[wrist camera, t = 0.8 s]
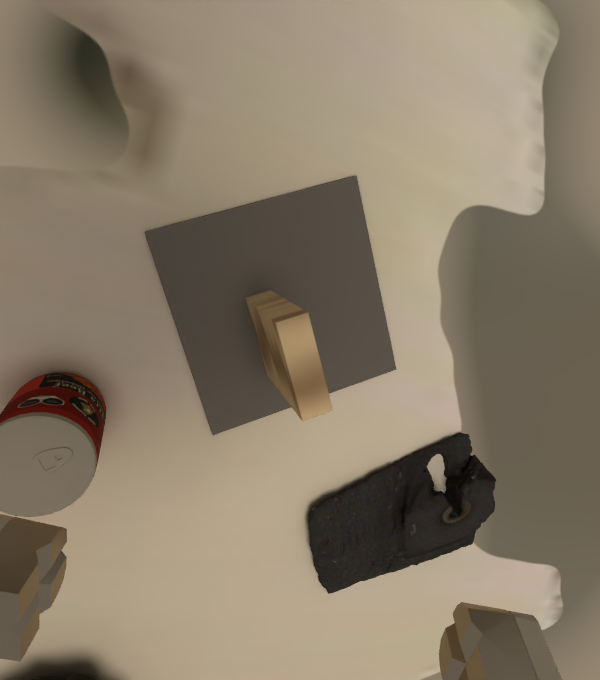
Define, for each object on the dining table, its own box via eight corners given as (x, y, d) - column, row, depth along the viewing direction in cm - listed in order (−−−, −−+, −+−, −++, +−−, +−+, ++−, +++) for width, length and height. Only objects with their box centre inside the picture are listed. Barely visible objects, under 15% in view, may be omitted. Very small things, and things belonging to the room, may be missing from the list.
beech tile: (245, 297, 48) (275, 322, 37) (270, 290, 48) (308, 312, 37) (267, 375, 50) (302, 421, 39) (291, 367, 51) (332, 410, 40)
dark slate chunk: (293, 483, 55) (306, 507, 51) (472, 424, 60) (499, 440, 55) (318, 598, 59) (332, 629, 55) (483, 534, 64) (509, 557, 60)
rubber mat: (144, 232, 45) (144, 232, 44) (354, 175, 49) (356, 175, 48) (212, 433, 51) (212, 435, 50) (394, 368, 55) (396, 369, 54)
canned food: (125, 412, 48) (119, 466, 37) (55, 468, 47) (29, 539, 37) (64, 351, 45) (40, 392, 35) (-11, 410, 44) (-58, 469, 34)
